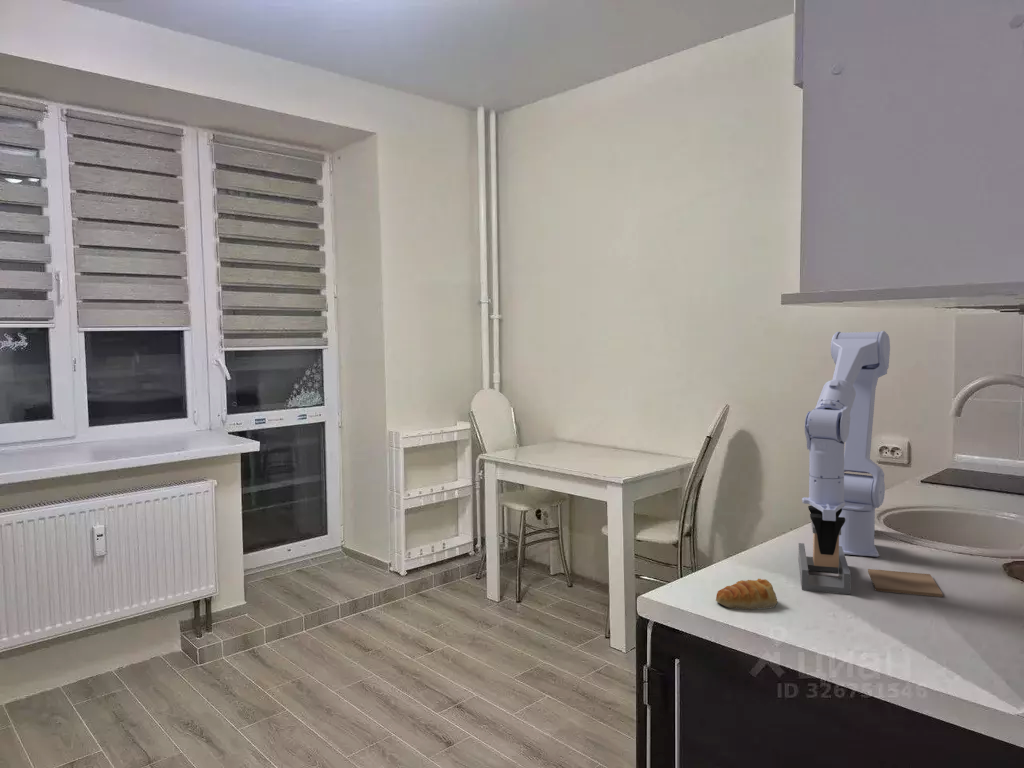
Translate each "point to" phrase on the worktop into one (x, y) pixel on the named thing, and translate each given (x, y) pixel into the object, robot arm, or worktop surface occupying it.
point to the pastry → (748, 595)
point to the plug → (822, 558)
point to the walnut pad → (904, 582)
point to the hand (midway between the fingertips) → (825, 549)
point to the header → (824, 582)
